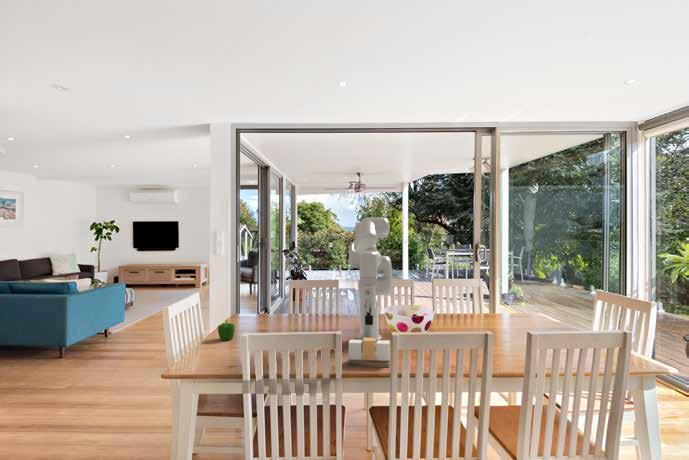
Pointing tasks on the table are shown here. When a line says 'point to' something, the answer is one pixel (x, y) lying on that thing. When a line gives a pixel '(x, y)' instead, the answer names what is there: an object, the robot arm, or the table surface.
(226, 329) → the bell pepper
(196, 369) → the table surface
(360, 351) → the rail board
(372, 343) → the block
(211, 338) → the table surface
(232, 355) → the table surface
